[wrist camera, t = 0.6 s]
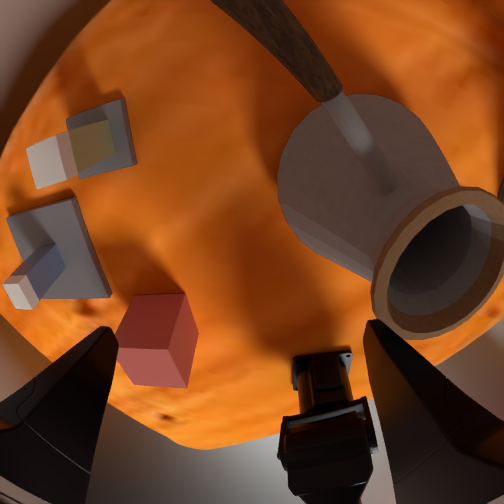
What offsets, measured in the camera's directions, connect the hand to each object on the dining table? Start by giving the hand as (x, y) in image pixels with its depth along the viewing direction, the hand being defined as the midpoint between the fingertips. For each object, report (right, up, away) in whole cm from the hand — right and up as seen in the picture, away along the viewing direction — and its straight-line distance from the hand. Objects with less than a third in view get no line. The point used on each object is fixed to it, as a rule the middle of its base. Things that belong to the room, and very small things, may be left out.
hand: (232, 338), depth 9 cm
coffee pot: (+5, +12, +8) cm, 15 cm away
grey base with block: (-10, +11, +9) cm, 18 cm away
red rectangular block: (-7, -3, +17) cm, 19 cm away
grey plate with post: (-18, +3, +14) cm, 23 cm away
